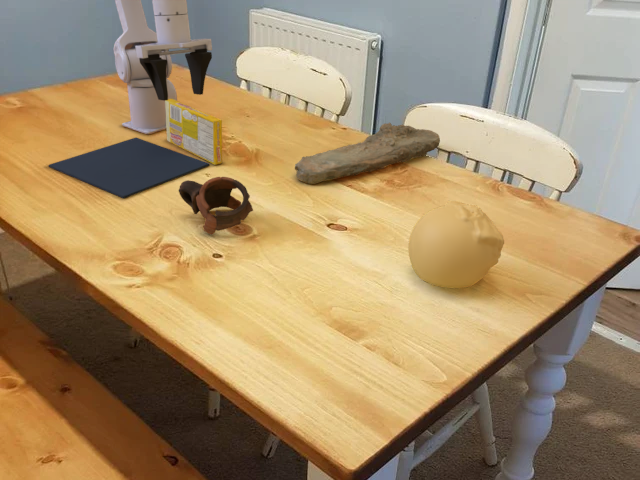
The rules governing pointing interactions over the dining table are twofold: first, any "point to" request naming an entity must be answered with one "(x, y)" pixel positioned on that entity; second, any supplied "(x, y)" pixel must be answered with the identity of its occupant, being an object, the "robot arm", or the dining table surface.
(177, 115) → the candy box
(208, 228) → the brown curved ring piece
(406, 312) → the dining table surface
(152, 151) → the cloth
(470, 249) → the sculpture
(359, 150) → the long grey stone
